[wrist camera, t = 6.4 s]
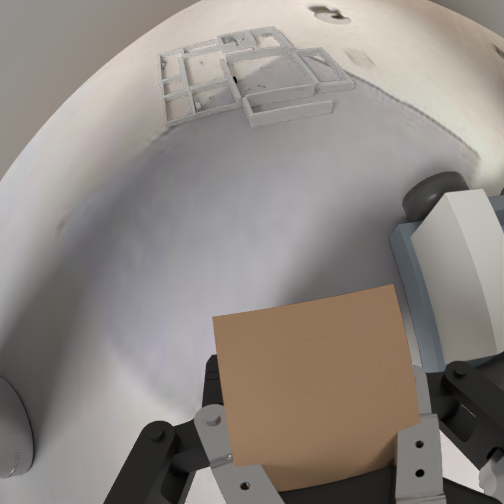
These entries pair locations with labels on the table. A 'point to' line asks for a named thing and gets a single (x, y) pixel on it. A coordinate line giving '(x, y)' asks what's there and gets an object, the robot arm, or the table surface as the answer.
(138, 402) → the table surface
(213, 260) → the table surface
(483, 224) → the chassis
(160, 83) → the floor plan model
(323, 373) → the brown rectangular block
